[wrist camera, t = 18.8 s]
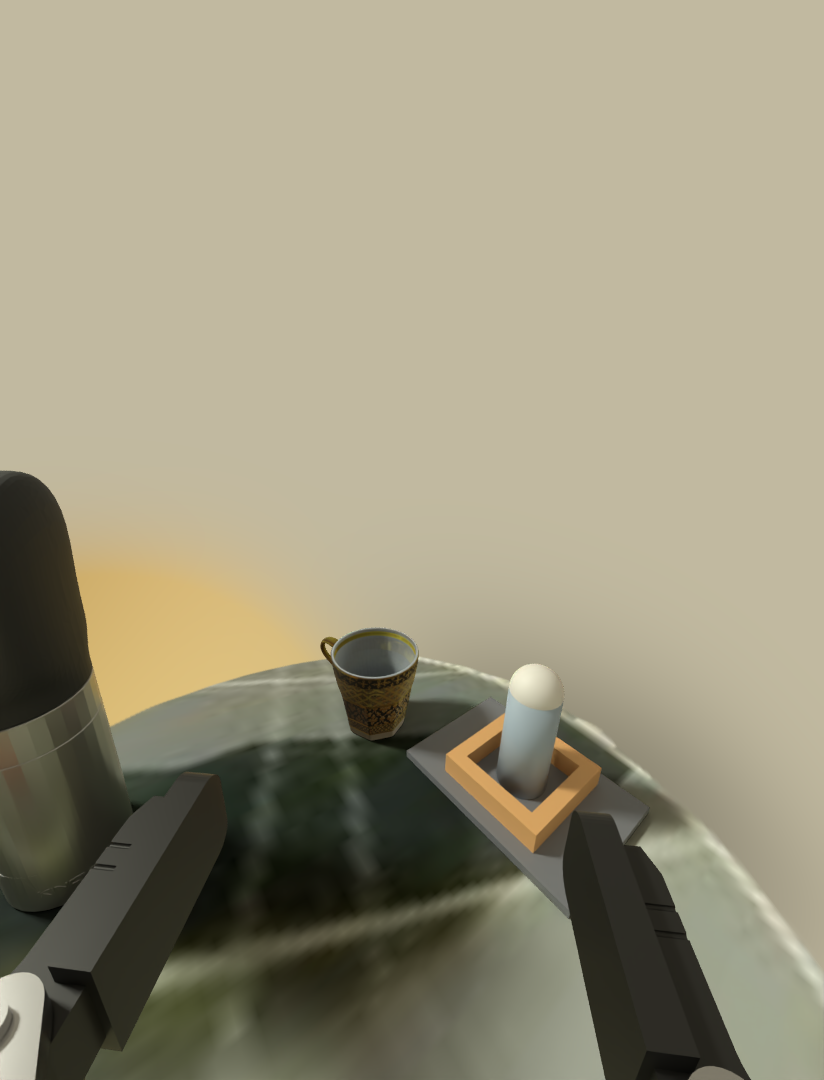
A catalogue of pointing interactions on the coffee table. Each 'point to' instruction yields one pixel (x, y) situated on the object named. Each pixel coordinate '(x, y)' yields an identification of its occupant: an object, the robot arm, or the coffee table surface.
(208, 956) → the coffee table surface
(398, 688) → the ceramic cup
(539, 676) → the pale grey cylinder
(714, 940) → the coffee table surface
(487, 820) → the jig
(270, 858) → the coffee table surface
